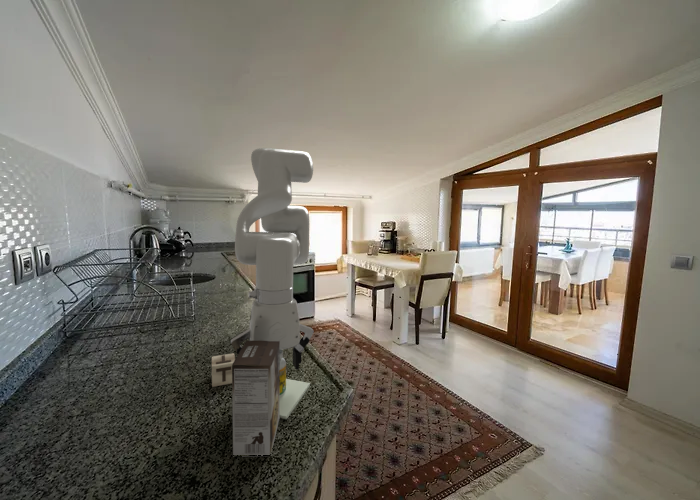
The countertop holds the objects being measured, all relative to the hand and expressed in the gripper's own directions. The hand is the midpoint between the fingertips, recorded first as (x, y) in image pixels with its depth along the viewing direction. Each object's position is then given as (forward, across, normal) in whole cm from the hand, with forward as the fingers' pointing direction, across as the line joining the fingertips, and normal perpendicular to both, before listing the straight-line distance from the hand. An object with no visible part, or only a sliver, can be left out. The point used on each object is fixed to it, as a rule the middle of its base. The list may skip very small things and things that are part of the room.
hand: (274, 370), depth 64 cm
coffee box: (+6, -5, -11) cm, 14 cm away
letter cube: (+6, -10, +11) cm, 15 cm away
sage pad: (+6, 0, 0) cm, 6 cm away
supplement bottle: (+5, 0, 0) cm, 5 cm away
